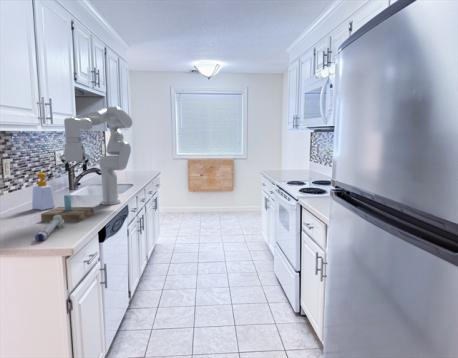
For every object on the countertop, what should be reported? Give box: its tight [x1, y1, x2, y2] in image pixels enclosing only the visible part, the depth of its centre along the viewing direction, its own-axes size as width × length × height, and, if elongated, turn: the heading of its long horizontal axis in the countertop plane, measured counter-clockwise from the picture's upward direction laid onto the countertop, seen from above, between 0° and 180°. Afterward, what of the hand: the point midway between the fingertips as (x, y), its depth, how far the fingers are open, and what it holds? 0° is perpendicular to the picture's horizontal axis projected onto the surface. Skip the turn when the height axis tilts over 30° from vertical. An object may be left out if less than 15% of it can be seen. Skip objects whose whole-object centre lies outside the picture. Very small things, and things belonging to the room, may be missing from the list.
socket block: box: [40, 206, 95, 223], centre depth 175 cm, size 17×20×4 cm
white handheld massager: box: [34, 215, 65, 243], centre depth 147 cm, size 5×7×25 cm
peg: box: [63, 194, 72, 212], centre depth 174 cm, size 3×3×12 cm
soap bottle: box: [26, 172, 56, 211], centre depth 192 cm, size 10×14×22 cm
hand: (76, 171), depth 180 cm, fingers open, 9 cm apart
